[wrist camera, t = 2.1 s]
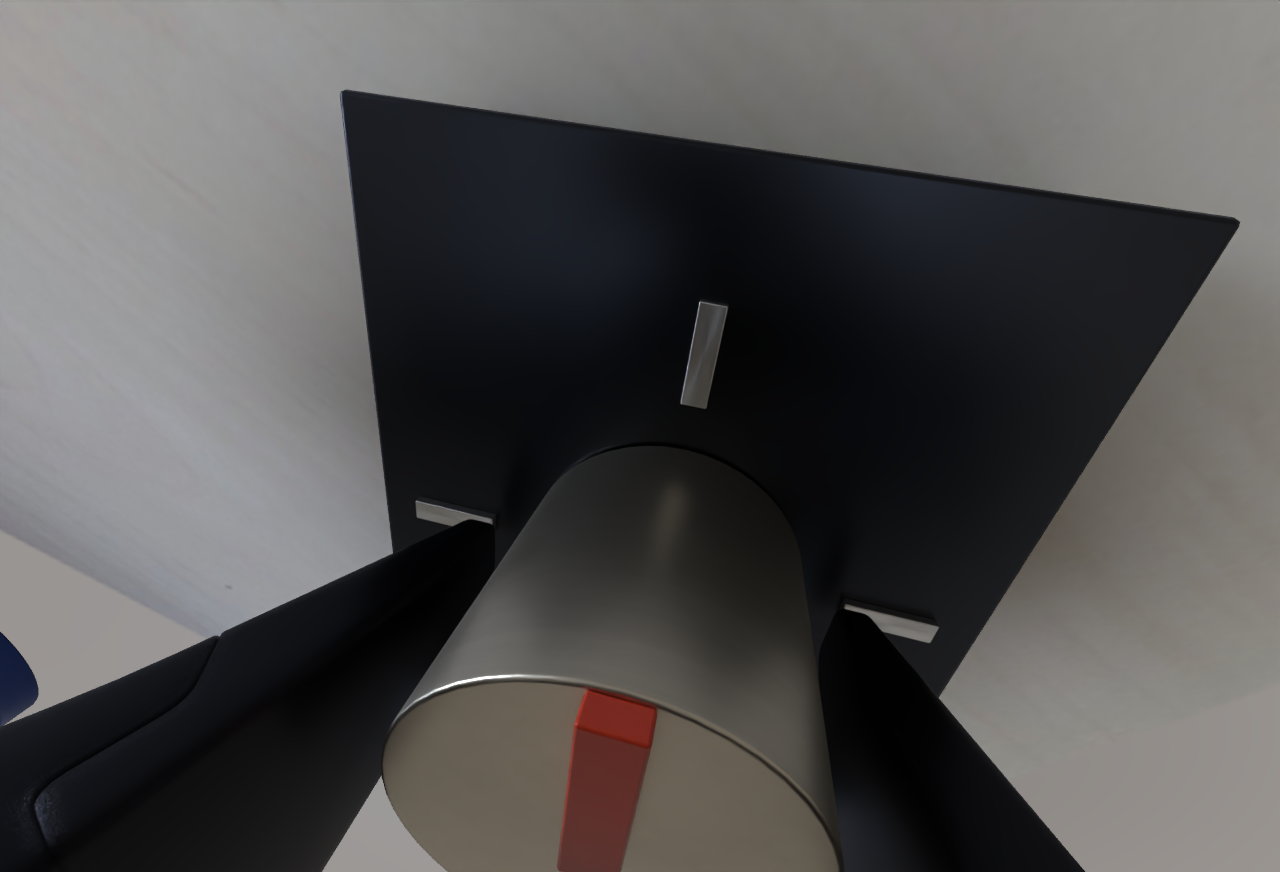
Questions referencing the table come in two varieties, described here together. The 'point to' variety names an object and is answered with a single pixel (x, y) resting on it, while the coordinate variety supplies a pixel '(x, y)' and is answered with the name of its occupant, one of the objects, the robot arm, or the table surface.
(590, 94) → the table surface
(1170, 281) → the panel
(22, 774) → the robot arm
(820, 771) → the knob
